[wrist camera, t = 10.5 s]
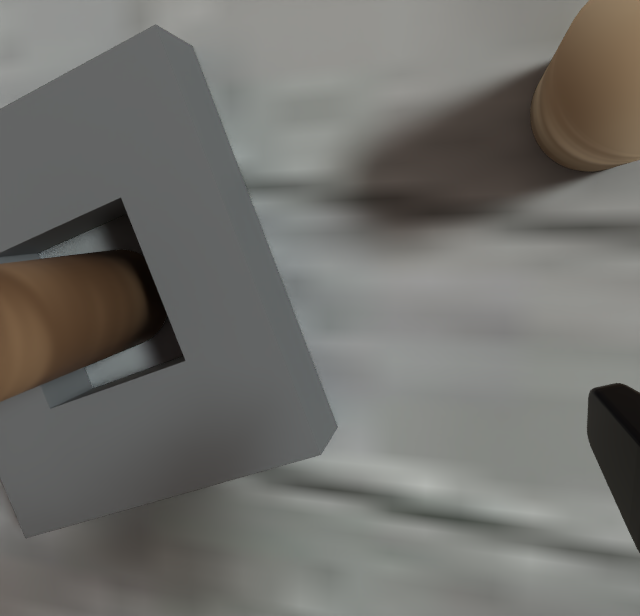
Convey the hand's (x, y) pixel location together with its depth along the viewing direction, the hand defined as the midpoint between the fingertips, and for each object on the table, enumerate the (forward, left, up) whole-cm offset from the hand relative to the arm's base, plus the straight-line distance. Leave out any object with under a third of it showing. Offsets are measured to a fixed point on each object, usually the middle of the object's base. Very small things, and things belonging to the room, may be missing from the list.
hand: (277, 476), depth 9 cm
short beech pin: (+4, -8, -12) cm, 15 cm away
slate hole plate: (+4, +9, -12) cm, 16 cm away
